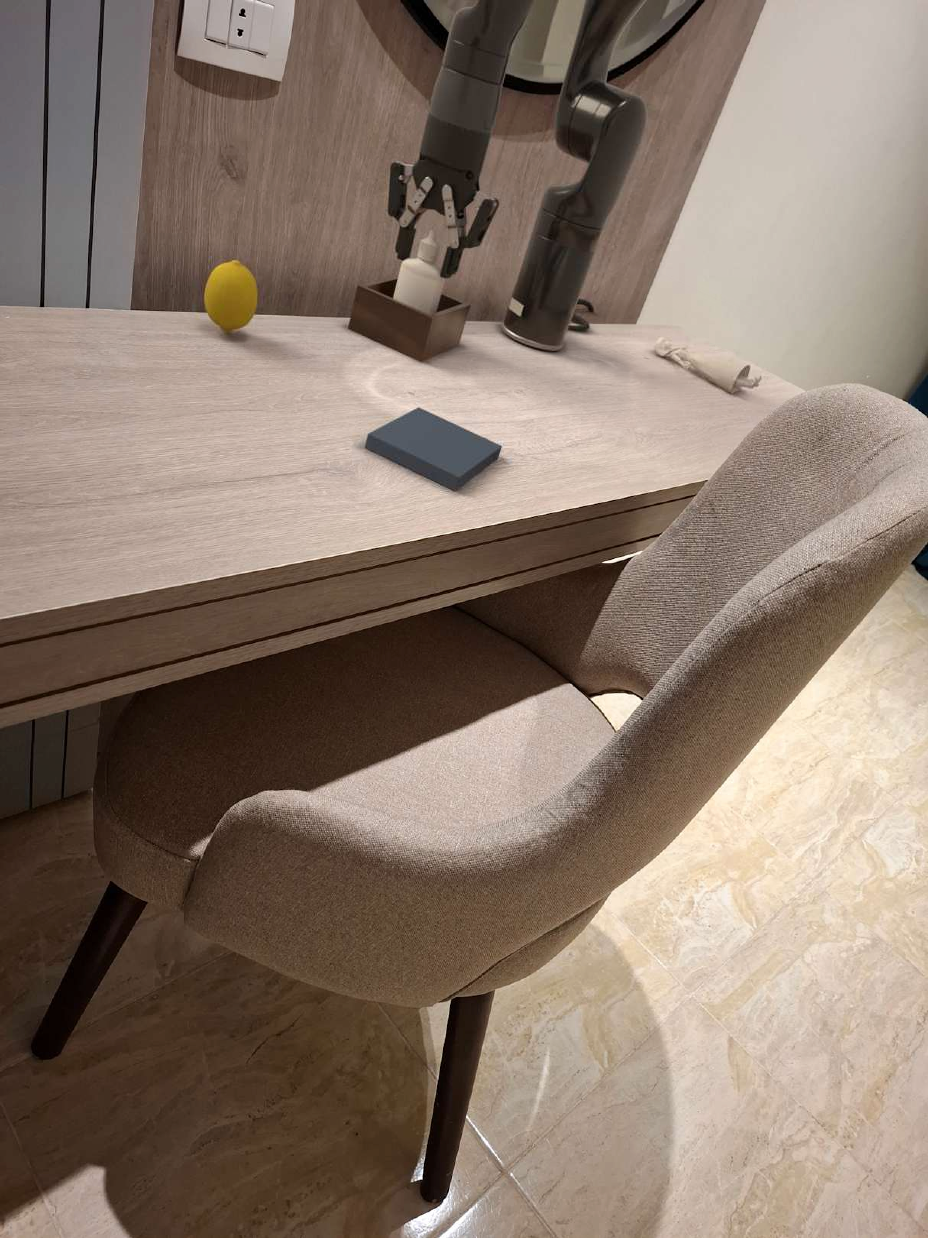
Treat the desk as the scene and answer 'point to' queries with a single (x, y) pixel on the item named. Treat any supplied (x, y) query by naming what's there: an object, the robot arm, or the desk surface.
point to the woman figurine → (710, 367)
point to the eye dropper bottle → (421, 278)
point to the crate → (406, 320)
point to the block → (434, 447)
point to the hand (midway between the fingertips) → (424, 267)
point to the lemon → (231, 296)
